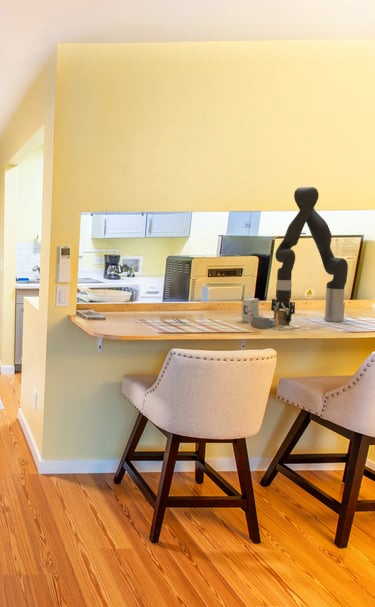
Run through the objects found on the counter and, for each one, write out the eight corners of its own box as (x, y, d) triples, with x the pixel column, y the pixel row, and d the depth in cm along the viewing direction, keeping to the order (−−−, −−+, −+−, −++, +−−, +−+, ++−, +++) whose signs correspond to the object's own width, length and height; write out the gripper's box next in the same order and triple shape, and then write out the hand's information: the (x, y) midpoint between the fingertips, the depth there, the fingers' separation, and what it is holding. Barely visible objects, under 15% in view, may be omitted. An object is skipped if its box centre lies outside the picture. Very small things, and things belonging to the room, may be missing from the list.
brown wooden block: (282, 323, 295) (282, 310, 294) (289, 325, 291) (289, 311, 290) (274, 324, 292) (275, 310, 291) (281, 326, 288) (282, 312, 287)
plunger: (268, 324, 290) (269, 310, 289) (288, 328, 280) (288, 314, 279) (262, 324, 288) (263, 310, 287) (282, 329, 277) (282, 314, 276)
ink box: (249, 323, 294) (250, 300, 292) (241, 321, 297) (242, 299, 295) (258, 321, 300) (259, 298, 299) (250, 320, 303) (251, 297, 302)
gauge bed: (275, 322, 298) (276, 312, 298) (301, 327, 284) (302, 317, 283) (248, 325, 288) (249, 315, 287) (274, 331, 273) (274, 320, 272)
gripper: (299, 290, 285) (298, 322, 287) (279, 286, 296) (277, 318, 299) (288, 290, 281) (287, 323, 283) (268, 287, 292) (267, 319, 294)
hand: (282, 320), depth 291 cm, fingers open, 8 cm apart
